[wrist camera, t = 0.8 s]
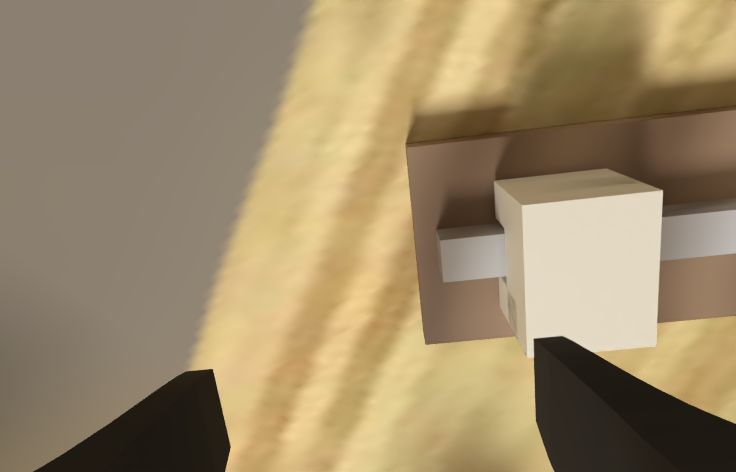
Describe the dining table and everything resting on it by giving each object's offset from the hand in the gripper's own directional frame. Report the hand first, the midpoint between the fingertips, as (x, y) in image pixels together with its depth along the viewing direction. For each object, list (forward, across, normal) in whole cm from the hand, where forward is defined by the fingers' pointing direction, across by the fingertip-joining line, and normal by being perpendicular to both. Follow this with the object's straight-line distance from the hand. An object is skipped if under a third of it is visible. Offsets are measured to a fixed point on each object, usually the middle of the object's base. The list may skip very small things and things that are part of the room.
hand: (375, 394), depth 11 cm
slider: (+9, -7, 0) cm, 11 cm away
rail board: (+10, -10, 0) cm, 15 cm away
